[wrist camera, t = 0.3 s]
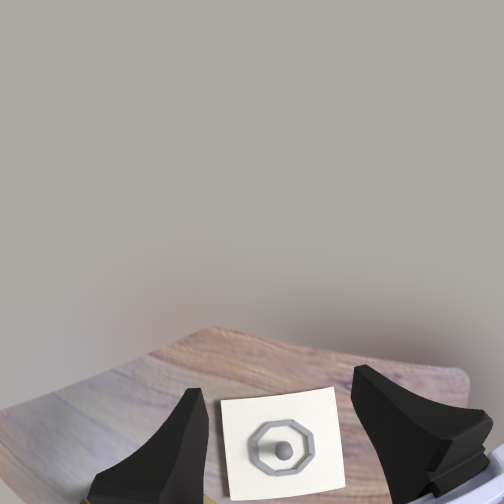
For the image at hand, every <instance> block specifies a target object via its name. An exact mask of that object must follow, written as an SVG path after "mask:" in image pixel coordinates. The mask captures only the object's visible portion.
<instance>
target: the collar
mask: <svg viewBox="0 0 504 504" xmlns="http://www.w3.org/2000/svg"><path fill="white" fill-rule="evenodd" d="M203 498H204V504H216V502H214V501H213V500H212V499H210V498H209V497H208V496H206V495H203Z"/></svg>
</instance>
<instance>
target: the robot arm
mask: <svg viewBox="0 0 504 504" xmlns="http://www.w3.org/2000/svg"><path fill="white" fill-rule="evenodd" d="M351 400H352V403H353V406H354V409H355V412H356V414H357V416H358V418H359V420H360V422H361V424H362V425H363V427H364V429H365V431H366V433H367V435H368V436H369V438H370V440H371V442H372V444H373V446H374V448H375V450H376V452H377V455H378V457H379V460H380V463H381V465H382V468H383V471H384V474H385V477H386V480H387V484H388V487H389V491H390V494H391V498H392V503H393V504H497V503H499V502H500V501H501V500H502V499H504V442H503V443H502V444H501V445H499V446H498V447H496V448H495V449H494V450H492V451H491V452H490V453H489V454H488V455H487V456H485V454H484V453H483V452H484V451H485V448H484V446H483V445H482V444H483V443H484V441H485V439H486V438H487V436H488V434H489V433H490V431H491V429H492V426H493V421H492V419H491V418H490V417H489V416H488V415H487V414H486V413H485V412H484V411H483V410H478V409H465V408H459V407H453V406H448V405H444V404H441V403H437V402H434V401H431V400H428V399H426V398H423V397H421V396H418V395H416V394H414V393H412V392H410V391H408V390H406V389H404V388H403V387H401V386H399V385H397V384H396V383H394V382H392V381H391V380H389V379H388V378H386V377H384V376H383V375H381V374H380V373H378V372H377V371H375V370H374V369H372V368H371V367H369V366H368V365H366V364H365V365H361V366H357V367H354V375H353V383H352V391H351ZM208 436H209V417H208V414H207V410H206V406H205V402H204V398H203V395H202V391H201V388H188V389H187V390H186V391H185V393H184V395H183V396H182V398H181V399H180V401H179V403H178V404H177V406H176V407H175V409H174V410H173V411H172V413H171V414H170V416H169V417H168V418H167V420H166V421H165V422H164V423H163V425H162V426H161V427H160V428H159V430H158V431H157V432H156V433H155V434H154V435H153V436H152V437H151V438H150V439H149V440H148V441H147V442H146V443H145V444H144V445H143V446H142V447H140V448H139V449H138V450H137V451H136V452H134V453H133V454H132V455H130V456H129V457H127V458H126V459H124V460H123V461H121V462H120V463H118V464H116V465H115V466H113V467H111V468H109V469H107V470H105V471H103V472H101V473H98V474H96V476H95V478H94V480H93V483H92V485H91V488H90V491H89V494H88V497H87V499H88V501H89V503H90V504H204V498H203V477H204V467H205V460H206V452H207V444H208Z"/></svg>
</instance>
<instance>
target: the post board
mask: <svg viewBox="0 0 504 504" xmlns="http://www.w3.org/2000/svg"><path fill="white" fill-rule="evenodd" d="M221 408H222V420H223V431H224V442H225V452H226V462H227V471H228V480H229V489H230V497H231V500H257V499H271V498H281V497H290V496H297V495H304V494H311V493H317V492H322V491H327V490H332V489H337V488H341V487H345V478H344V467H343V457H342V448H341V439H340V431H339V423H338V415H337V408H336V400H335V393H334V387H330V388H324V389H318V390H312V391H306V392H300V393H293V394H285V395H277V396H269V397H259V398H248V399H235V400H221Z"/></svg>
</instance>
